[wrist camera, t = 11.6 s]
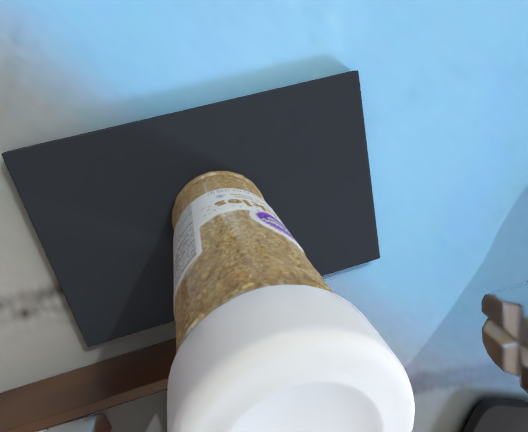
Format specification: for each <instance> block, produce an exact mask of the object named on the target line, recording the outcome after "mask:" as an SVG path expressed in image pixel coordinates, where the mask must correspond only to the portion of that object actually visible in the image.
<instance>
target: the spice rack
mask: <svg viewBox="0 0 528 432" xmlns="http://www.w3.org/2000/svg"><path fill="white" fill-rule="evenodd" d="M175 356H176V339H173V340H170V341H166V342H163V343H160V344H157V345H154V346H150V347H147V348H144V349H141V350H138V351H134V352H131V353H128V354H125V355H121V356H118V357H115V358H112V359H109V360H105V361H102V362H99V363H96V364H92V365H89V366H86V367H83V368H80V369H76V370H73V371H70V372H67V373H63V374H60V375H57V376H54V377H51V378H47V379H44V380H41V381H38V382H35V383H31V384H28V385H25V386H22V387H18V388H15V389H12V390H9V391H6V392H2V393H0V432H37V431H41V430H45V429H48V428H50V427H53V426H57V425H60V424H64V423H67V422H71V421H74V420H77V418H80V417H83V416H86V415H89V414H92V413H95V412H98V411H101V410H104V409H107V408H110V407H113V406H116V405H119V404H122V403H126V402H129V401H132V400H135V399H138V398H141V397H144V396H147V395H150V394H153V393H156V392H159V391H162V390H165V389H167V387H168V378H169V374H170V370H171V366H172V363H173V361H174V358H175Z"/></svg>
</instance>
